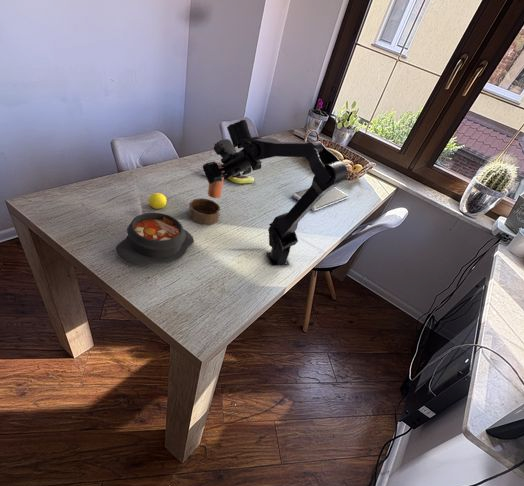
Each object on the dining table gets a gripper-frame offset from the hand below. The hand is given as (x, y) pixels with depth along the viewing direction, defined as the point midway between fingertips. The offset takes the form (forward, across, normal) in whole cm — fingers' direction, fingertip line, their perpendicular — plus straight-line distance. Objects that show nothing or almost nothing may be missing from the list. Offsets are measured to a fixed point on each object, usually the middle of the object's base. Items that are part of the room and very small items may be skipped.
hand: (214, 177), depth 128 cm
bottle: (+3, 0, +5) cm, 6 cm away
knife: (+20, -23, -2) cm, 30 cm away
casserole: (+2, +31, +16) cm, 35 cm away
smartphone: (-2, -53, +20) cm, 57 cm away
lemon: (+16, +17, +3) cm, 23 cm away
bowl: (+7, +6, +11) cm, 14 cm away
